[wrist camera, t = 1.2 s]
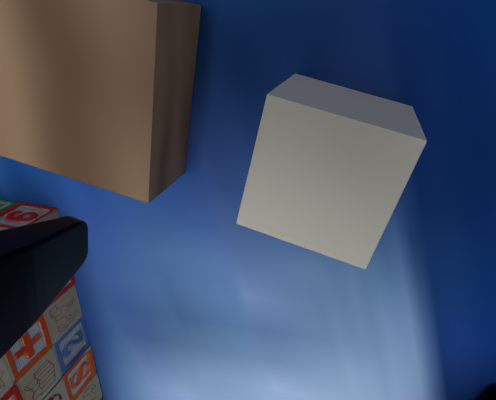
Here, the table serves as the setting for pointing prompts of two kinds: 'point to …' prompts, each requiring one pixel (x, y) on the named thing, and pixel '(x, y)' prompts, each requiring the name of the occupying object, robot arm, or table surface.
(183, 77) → the walnut block
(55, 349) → the stack of blocks
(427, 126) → the table surface
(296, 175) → the cream cube
